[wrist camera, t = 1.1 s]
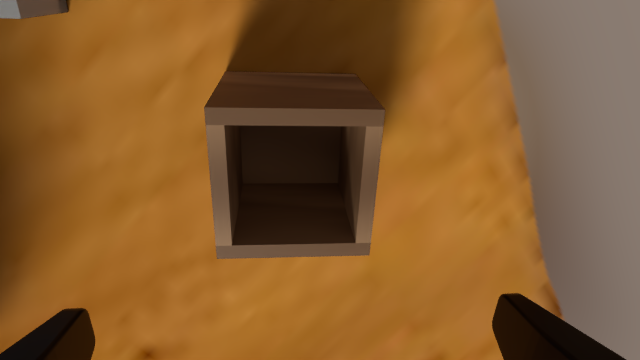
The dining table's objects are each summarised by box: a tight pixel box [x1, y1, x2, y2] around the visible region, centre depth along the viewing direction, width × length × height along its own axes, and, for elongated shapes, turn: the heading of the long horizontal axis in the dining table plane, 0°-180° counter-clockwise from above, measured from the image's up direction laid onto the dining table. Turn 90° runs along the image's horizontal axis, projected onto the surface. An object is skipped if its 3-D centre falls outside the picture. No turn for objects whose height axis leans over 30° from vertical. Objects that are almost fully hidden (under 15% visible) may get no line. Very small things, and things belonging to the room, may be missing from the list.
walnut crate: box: [204, 71, 385, 259], centre depth 18 cm, size 6×6×6 cm
